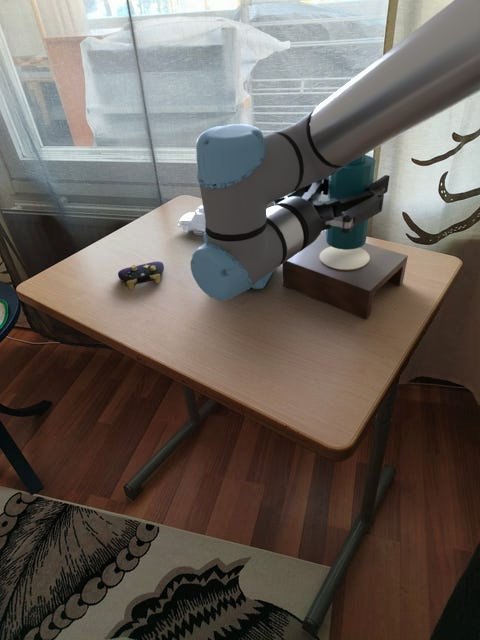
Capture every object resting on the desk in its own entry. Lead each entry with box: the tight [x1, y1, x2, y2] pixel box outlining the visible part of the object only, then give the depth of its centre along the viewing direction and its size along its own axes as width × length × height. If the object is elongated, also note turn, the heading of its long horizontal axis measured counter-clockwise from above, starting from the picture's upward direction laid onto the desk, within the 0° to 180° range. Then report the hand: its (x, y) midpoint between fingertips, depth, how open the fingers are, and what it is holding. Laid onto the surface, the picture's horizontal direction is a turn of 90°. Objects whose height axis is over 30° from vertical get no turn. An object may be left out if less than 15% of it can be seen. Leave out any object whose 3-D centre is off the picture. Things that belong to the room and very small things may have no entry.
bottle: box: [325, 154, 377, 250], centre depth 70 cm, size 7×7×18 cm
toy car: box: [178, 204, 206, 236], centre depth 102 cm, size 6×12×7 cm, turn 67°
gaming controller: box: [117, 260, 165, 290], centre depth 88 cm, size 10×5×6 cm
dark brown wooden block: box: [281, 230, 409, 320], centre depth 80 cm, size 18×14×6 cm
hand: (365, 179), depth 73 cm, fingers closed on bottle, 7 cm apart
